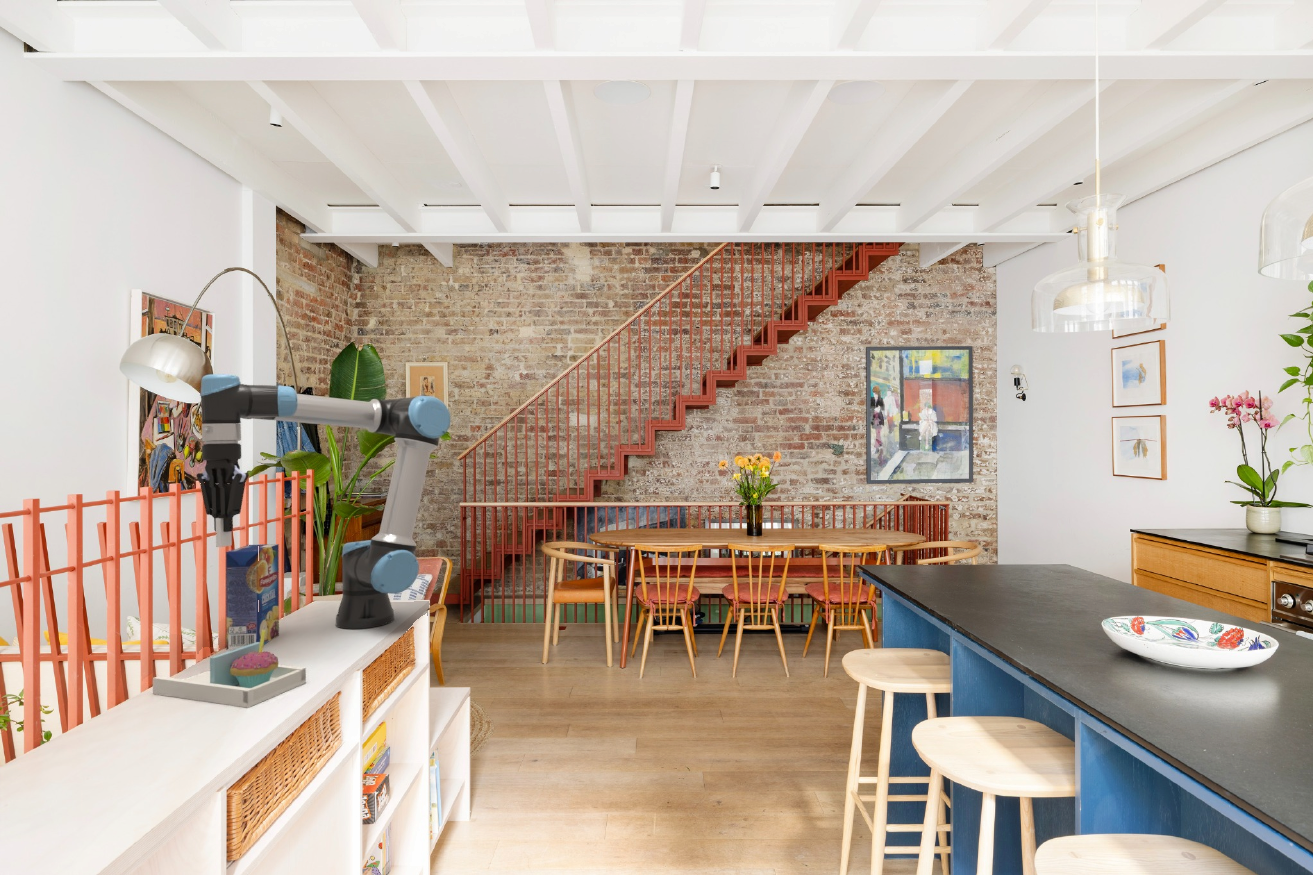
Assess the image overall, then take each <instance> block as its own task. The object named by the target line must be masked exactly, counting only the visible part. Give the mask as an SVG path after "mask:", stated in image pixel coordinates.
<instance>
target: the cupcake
mask: <svg viewBox="0 0 1313 875" xmlns="http://www.w3.org/2000/svg"><path fill="white" fill-rule="evenodd" d="M265 627H266V626H265ZM265 627H264V630H262V634H261V640H260V647H259V652H258V651H257V652H256V651H253V652H250V653H247V654H246V655H244V656H241V657H239V658H238V659H237V660H235V661H233V663H232V665H231V669H230V674H231V675H235V677H236V678H237V679H238V681H239V684H240V687H244V688H253V687H255V686H258V685H260V684H263V683H265V682H268V681H270V678H271V675H272V673H273V671H274V669H276V668H277V667H278V665H279V658H278V656H276V655H275V654H274V653H271V652H270V651H264V645H265V644H264V638H265ZM263 644H264V645H263Z"/></svg>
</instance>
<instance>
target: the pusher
mask: <svg viewBox="0 0 1313 875" xmlns="http://www.w3.org/2000/svg"><path fill="white" fill-rule="evenodd" d="M259 647H260V642H256V643H253V644H250V645H247V646H244V647H241V648H238V649H231V650H229V651H226V652H223V653H220V654H217V655H213V656H211V657H209V670H210V683H214V684H221V685H229V686H235V685H238V684H239V681H238V679H237V678H236V677H235V675H231V674H230V669H231V665H232V663H233V661H235V660H237V659H238V658H239V657H241V656H244V655H246V654H247V653H250V652H253V651H256V652H257V651H258V652H259Z"/></svg>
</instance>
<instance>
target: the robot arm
mask: <svg viewBox="0 0 1313 875" xmlns="http://www.w3.org/2000/svg"><path fill="white" fill-rule="evenodd" d="M200 382H201V383H200V384H201V385H200V394H199V396H200V403H201V404H200V406H201V407H200V408H201V409H200V410H201V441H203V442H205V443H203V444H202V446H201V454H202V455H201V456H202V460H203V461H205V462H206V463H205V466H204V471H202V472H201V473H200V472H199V473H197V474H196V479H197V481H198V482H199V485H200V491H201V495H202V499H203V505H204V509H205V515H207V516H211V517H212V519H213V525H214V527H213V528H214V532H215V546H216V548H226V547H230V546H231V547H232V544H233V539H232V534H233V533H232V532H233V529H234V523H233V521H234V520H233V519H234V517H235V516H237V515H239V514H241V510H242V505H243V498H244V492H245V487H246V483H247V481H248V479H249V477H250V476H249V473H248V472H243V471H242V470H241V469H240V463H239V460H241V458H242V444H241V443H239V441H242V430H241V429H242V427H241V425H242V424H241V423H242V422H241V419H244V420H252V419H254V420H255V419H256V420H263V421H278V422H291V423H302V424H304V423H305V424H313V425H325V426H336V427H348V428H359V429H366V430H367V432H369V433H372V434H384V435H388V436H393V437H394V439H393V440H394V441H395V443H396V444H397V446H398V447H397V452H396V457H395V461H394V466H393V470H392V475H391V479H390V483H389V487H388V488H389V489H388V492H387V496H386V499H385V500H386V502H385V505H384V509H383V515H382V518H381V519H382V520H381V524H380V527H379V532H378V533H377V534H376V535H375V536H373V537H372V538H371V539H370V540H369V539H368V540H361V541H352V542H346V543H345V544H343V547H342V554H341V559H342V560H341V561H342V563H341V564H342V565H341V566H342V567H341V568H342V598H341V601H340V603H339V607H338V610H337V613H336V616H335V626H336V627H337V628H341V629H347V630H350V629H351V630H356V629H369V628H370V629H371V628H374V627H381V626H384V625H387V624H391V623H392V622H393V621H394V620H395V610H394V608H392V607H393V606H392V603H391V599H390V597H389V594H392V595H393V594H399V593H402V592H404V591H406V590H407V589H409V588H410V587H411V586H412V585H413V584H414V582H416V579H417V578H418V575H419V570H420V562H419V561H418V559H417V556H416V555H415V554H416V551H417V550H416V548H417V544H416V542H415V541H414V539H413V536H414V530H415V525H416V522H417V521H416V520H417V517H418V512H419V507H420V504H421V503H420V502H421V497H422V493H423V489H424V484H425V480H426V475H427V471H428V467H429V466H428V465H429V463H430V462H429V461H430V456H431V454H432V452H433V451H435V450H436V449H438V448H439V443H440V438H441V437H442V436H444V435H445V434H446V433H447V432H448V431H449V428H450V426H451V413H450V411H449V408H448V407H447V405H446V404H445V403H444V402H443V400H441V399H439V398H437V397H436V396H431V395H418V396H411V397H410V396H409V397H402V398H395V399H394V398H393V399H392V398H391V399H377V398H373V399H370V401H365V400H364V401H363V400H355V399H349V398H348V399H346V398H337V397H329V396H328V397H327V396H321V395H320V396H319V395H310V394H302V393H297V391H296V390H295V389H294V388H293V387H291V386H285V385H281V384H279V385H273V384H272V385H271V384H270V385H265V384H264V385H263V384H261V385H260V384H256V385H255V384H245V383H241V380H240V377H239V376H238V375H235V374H225V373H224V374H223V373H222V374H221V373H220V374H219V373H218V374H216V373H215V374H214V373H213V374H212V373H211V374H206V375H204V376H203V377H202V378H201V381H200ZM204 482H205V483H204ZM200 483H201V484H200ZM216 533H217V534H216Z"/></svg>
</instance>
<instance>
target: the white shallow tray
mask: <svg viewBox="0 0 1313 875" xmlns="http://www.w3.org/2000/svg"><path fill="white" fill-rule="evenodd" d="M306 673H307V667H304V666H293V665H285V664H284V665H283V664H278V667H277V668H276V669H274V671H273V673H272V675H271V678H270V681H268V682H265V683H263V684H260V685H258V686H255V687H253V688H244V687H240V684H238V685H235V686H229V685H221V684H214V683H210V669H209V670H207V671H204V672H200V673H198V674H194V675H192V676H189V677H186V678H183V679H182V678H176V677H168V676H160V675H158V676H156V677H155V676H154V677H152V694H153V695H158V696H159V695H160V696H165V697H171V698H179V699H185V700H192V701H199V702H208V703H213V704H220V705H228V706H235V707H239V708H241V707H242V708H250V707H251V708H252V707H253V706H255V705H258V704H260V703H262V702H265V701H267V700H270V699H271V698H275V697H277V696H279V695H282V694H283V693H286V692H288V691H291V690H293V689H296V688H298V687H300V686H302V685H305V684H306V683H307V679H306V678H307V677H306V675H307V674H306Z"/></svg>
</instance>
